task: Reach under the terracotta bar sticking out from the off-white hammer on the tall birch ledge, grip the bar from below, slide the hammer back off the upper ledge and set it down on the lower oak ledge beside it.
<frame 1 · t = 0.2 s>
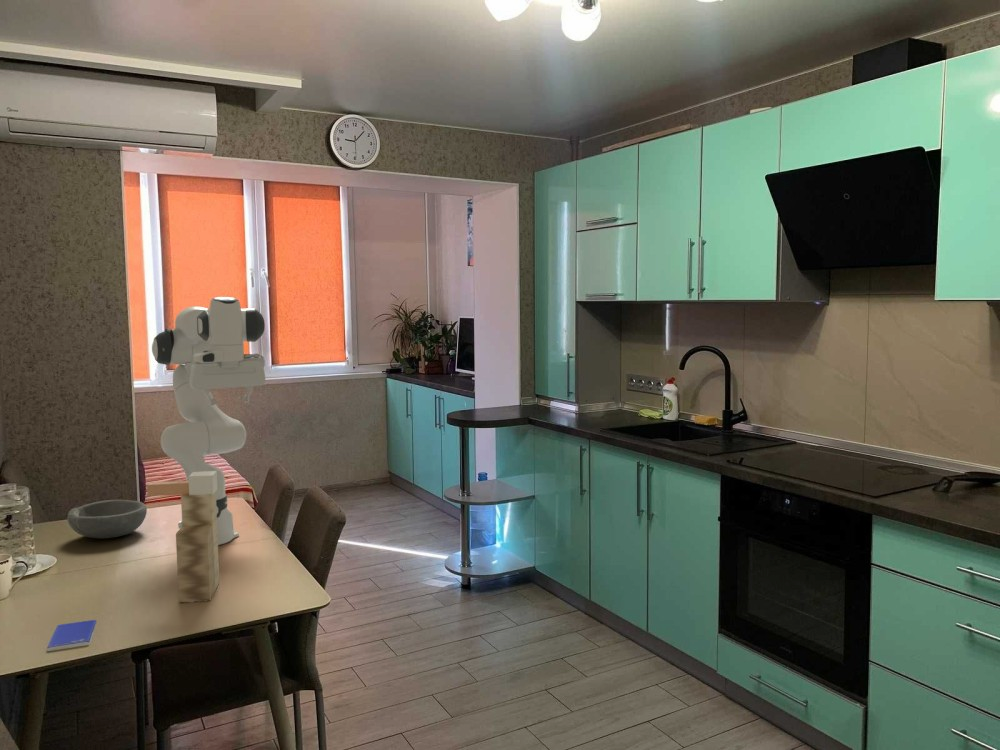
hand: (229, 403, 211), 48 cm above the table, tool pointing down, fingers open, 8 cm apart
bowl: (110, 537, 246), on the table
beige tall block: (200, 591, 197), on the table
hard drive: (73, 639, 170), on the table
hammer: (203, 492, 198), point 26 cm above the table, touching beige tall block
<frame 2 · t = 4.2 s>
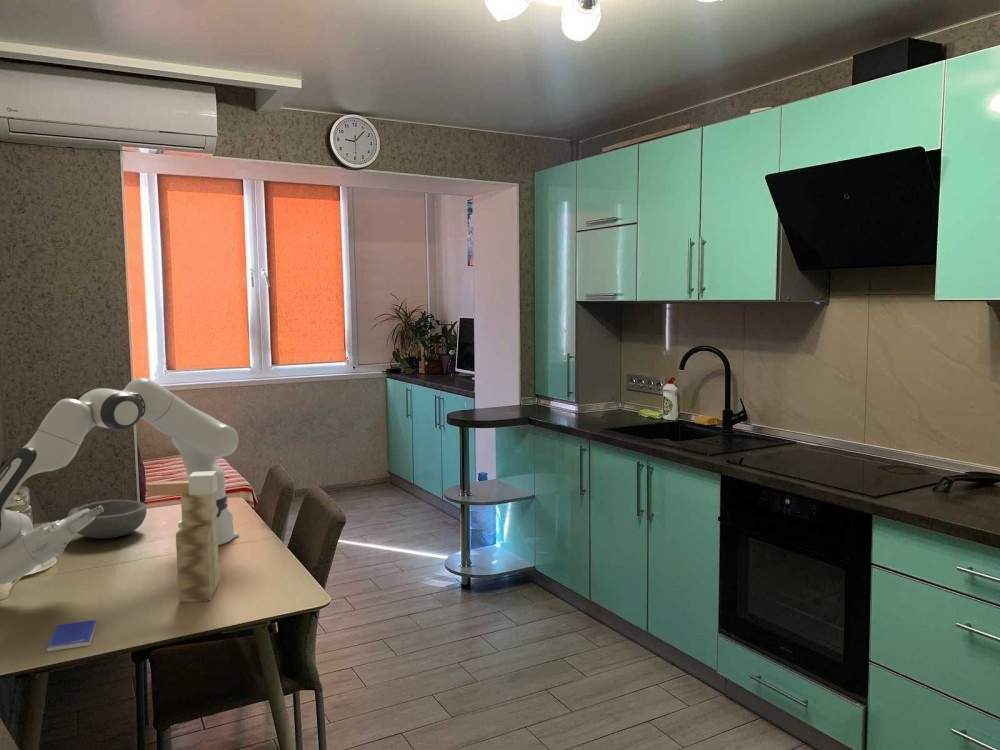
hand: (95, 512, 193), 22 cm above the table, tool pointing upward, fingers open, 8 cm apart
nothing on the table moved.
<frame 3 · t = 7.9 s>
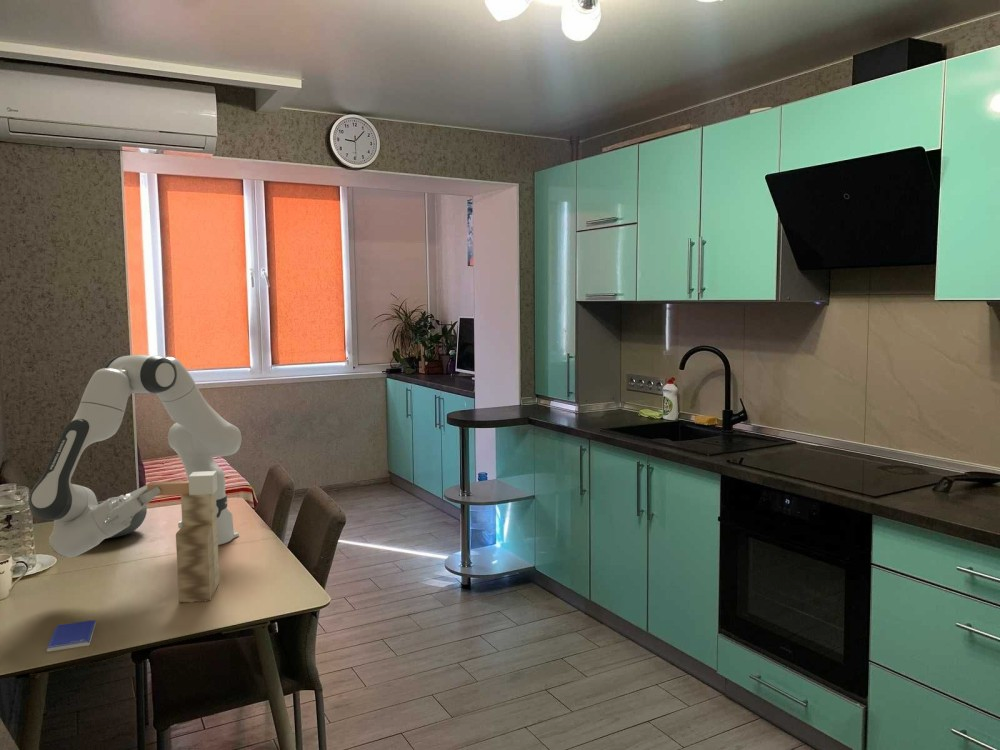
hand: (162, 486, 196), 28 cm above the table, tool pointing upward, fingers closed on hammer, 3 cm apart
hammer: (203, 492, 198), point 26 cm above the table, touching beige tall block, gripper
everything else where it was.
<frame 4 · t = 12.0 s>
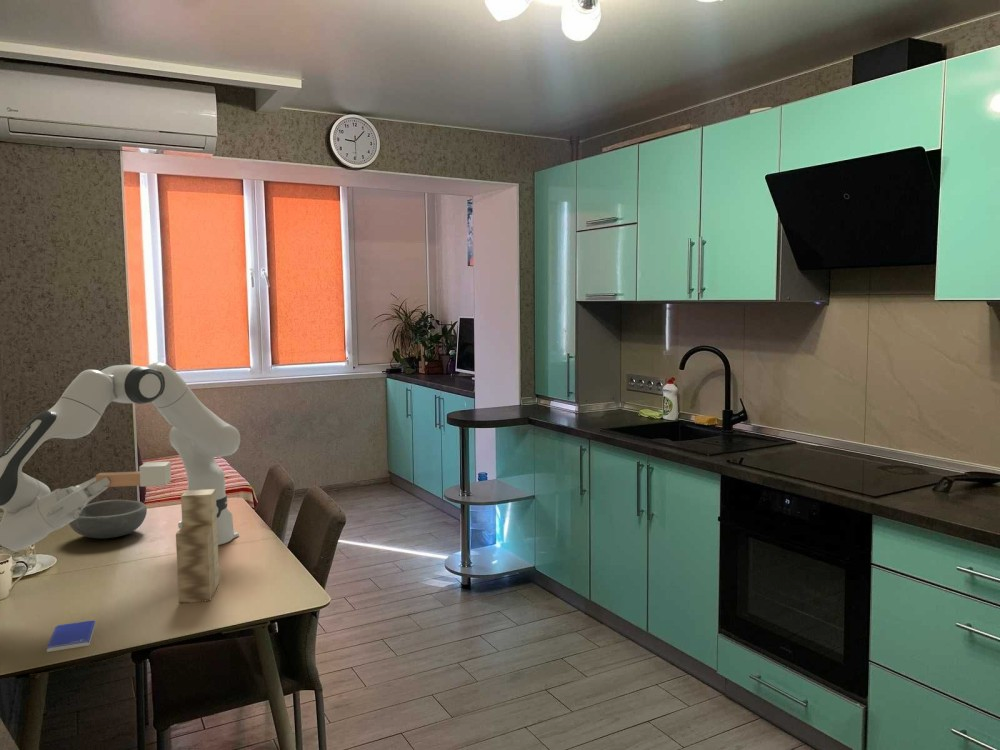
hand: (112, 477, 187), 32 cm above the table, tool pointing upward, fingers closed on hammer, 3 cm apart
hammer: (156, 483, 189), point 30 cm above the table, touching gripper
everything else where it was.
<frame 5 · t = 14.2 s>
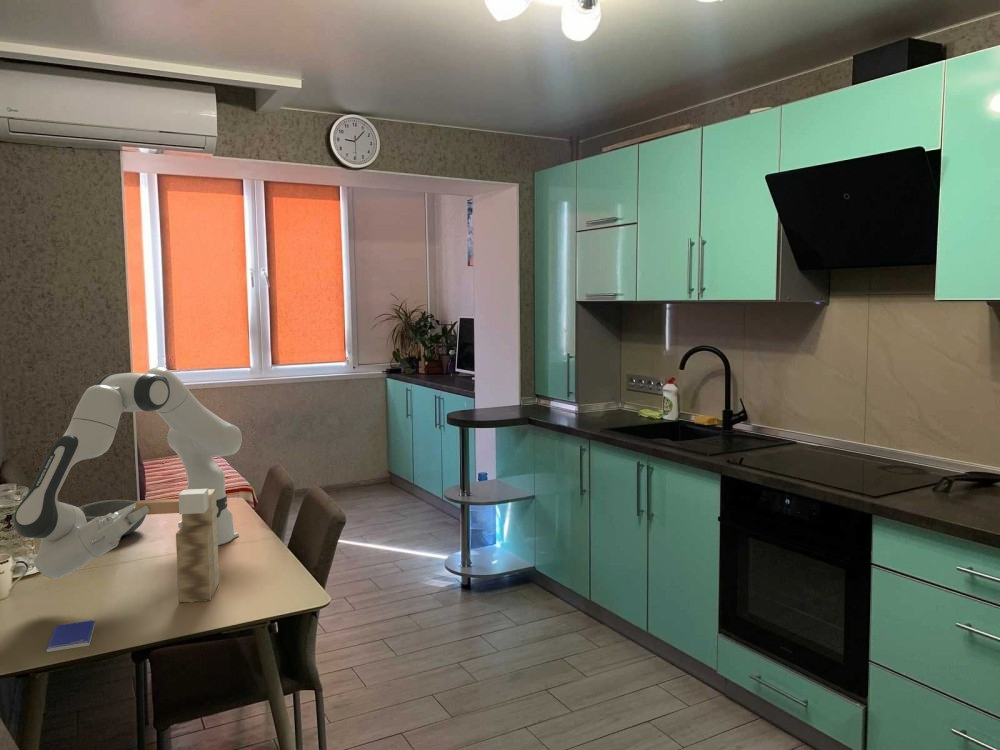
hand: (151, 505, 189), 25 cm above the table, tool pointing upward, fingers closed on hammer, 3 cm apart
hammer: (194, 510, 191), point 23 cm above the table, touching gripper
everything else where it was.
when the fingers open (21 cm above the table, at t = 15.9 s): hammer stays where it is, resting on beige tall block.
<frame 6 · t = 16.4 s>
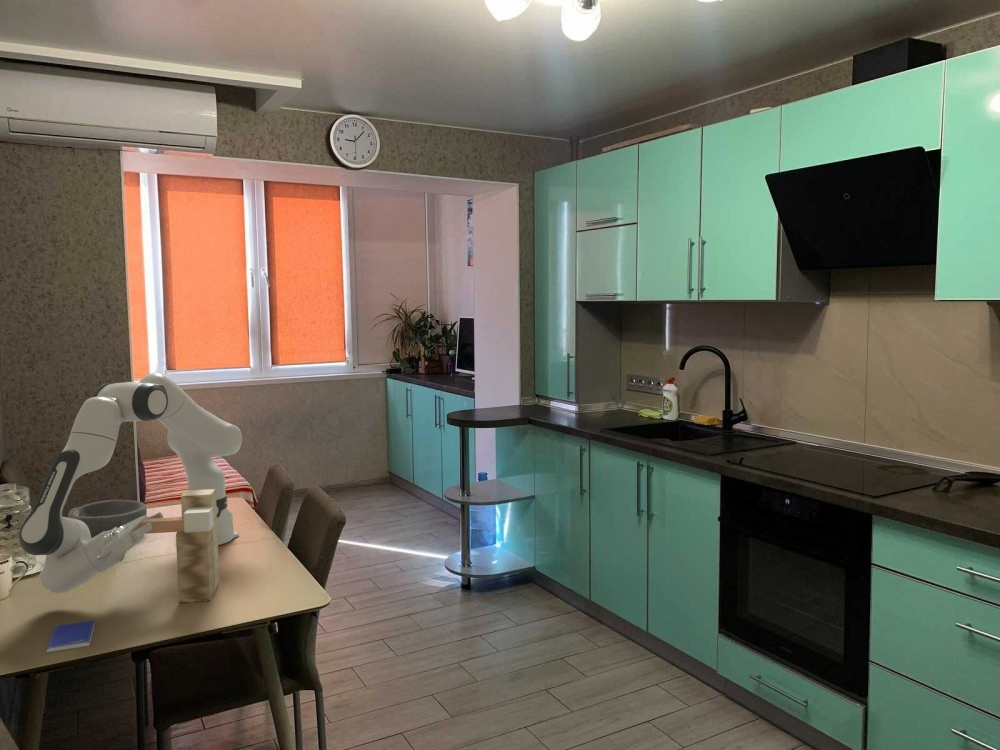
hand: (156, 520, 190), 21 cm above the table, tool pointing upward, fingers open, 8 cm apart
hammer: (199, 529, 192), point 18 cm above the table, touching beige tall block
everything else where it was.
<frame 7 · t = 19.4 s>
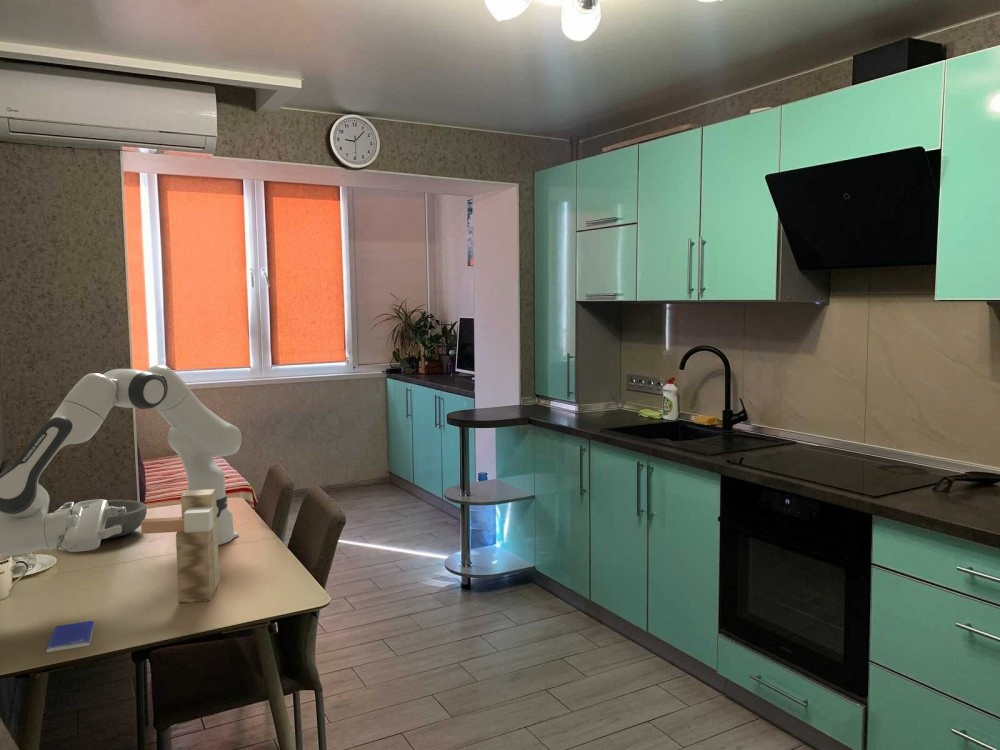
hand: (123, 519, 191), 21 cm above the table, tool horizontal, fingers open, 8 cm apart
nothing on the table moved.
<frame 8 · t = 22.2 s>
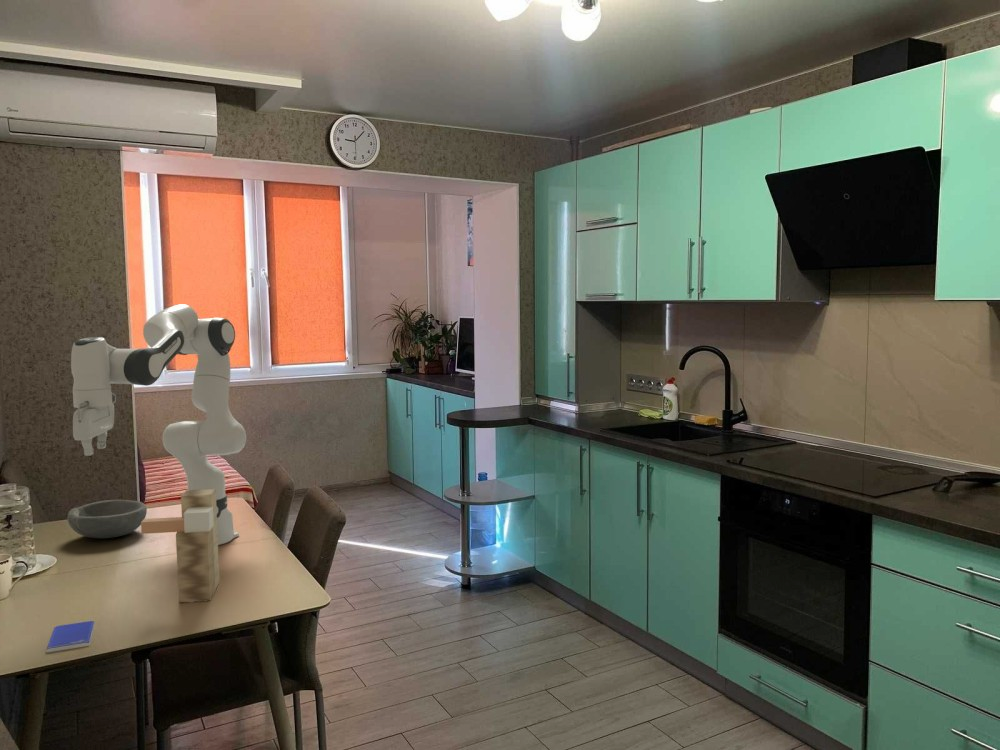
hand: (95, 451, 196), 37 cm above the table, tool pointing down, fingers open, 8 cm apart
nothing on the table moved.
at the end: hammer 0.1 cm from the target spot on the beige tall block, point 18.0 cm above the beige tall block's base; the gripper is holding nothing; hammer tilted 0° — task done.
